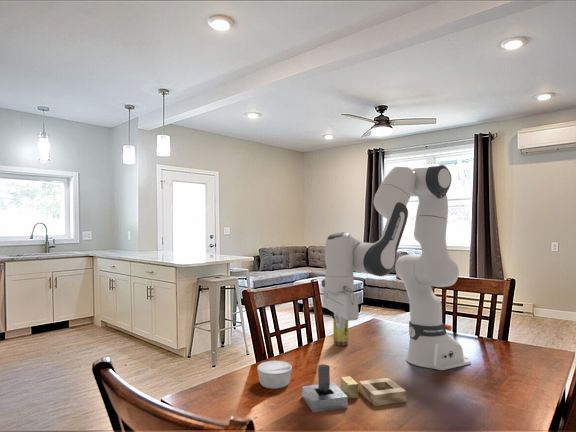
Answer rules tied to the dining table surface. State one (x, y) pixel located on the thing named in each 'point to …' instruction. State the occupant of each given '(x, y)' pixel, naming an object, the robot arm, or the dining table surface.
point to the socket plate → (324, 398)
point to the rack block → (382, 391)
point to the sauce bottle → (340, 334)
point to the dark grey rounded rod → (323, 380)
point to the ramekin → (274, 374)
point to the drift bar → (349, 387)
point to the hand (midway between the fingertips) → (340, 328)
